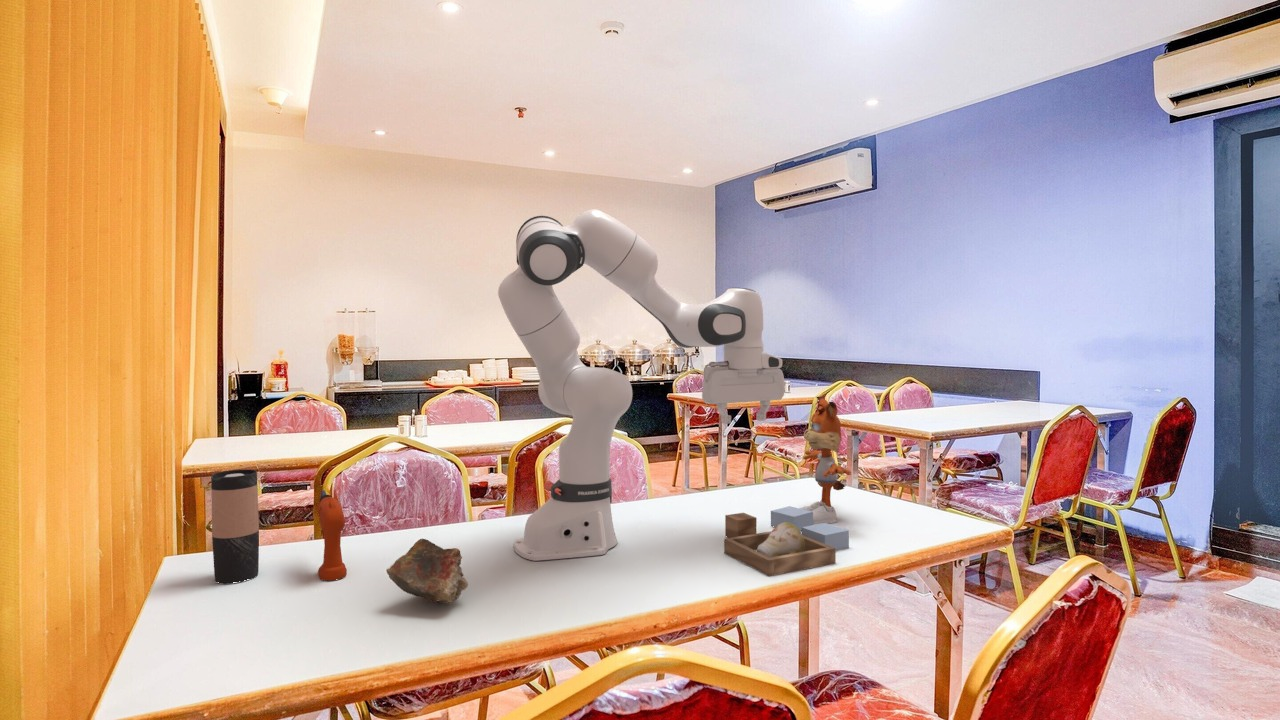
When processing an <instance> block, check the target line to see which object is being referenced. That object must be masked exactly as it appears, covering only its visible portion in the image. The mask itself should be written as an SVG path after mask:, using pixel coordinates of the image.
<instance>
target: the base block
mask: <svg viewBox="0 0 1280 720" xmlns="http://www.w3.org/2000/svg"><path fill="white" fill-rule="evenodd" d="M801 534H802V535H804V536H806V537H809V538H811V539H814V540H816V541H819V542H821V543H824V544H826V545H829V546H831V547H834V548H836V552H837V551H841V550H844V549H845V550H846V549H849V548H850V530H849V529H846V528H842V527H839V526H836V525H834V524H832V523H820V524H813V525H811V526H805V527H802V531H801Z"/></svg>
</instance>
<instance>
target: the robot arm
mask: <svg viewBox="0 0 1280 720" xmlns="http://www.w3.org/2000/svg"><path fill="white" fill-rule="evenodd" d="M515 244H516V245H515V246H516V247H515V248H516V249H515V250H516V251H515V252H516V264H517V265H518V267H517V268H516V269H515V270H514V271H512V272H511V273H509V274H508V275H507V276H505V278H504V279H503V280H502V281H501V283H500V284H499V287H498V290H497V296H498V298H499V300H500V301H499V302H500V303H501V307H502V309H503V311H504V313H505V315H506V317H507V319H508V322H509V323H510V325H511V327H512V329H513V330H514V332H515V333H516V335H517V337H518V338H519V340H520V341H521V343H522V345H523V346H524V348H525V349H526V351H527V353H528V354H529V356H530V358H531V359H532V360H533V363H534V365H535V367H536V370H537V374H538V377H539V382H538V386H537V387H538V389H537V391H538V392H537V394H538V397H539V400H540V401H541V403H542V404H543V405H544V407H546V408H548V409H549V410H551V411H553V412H555V413H558V414H561V415H564V416H565V415H567V416H572V423H571V426H570V429H569V432H568V435H566V437H565V438H564V439H562V440H561V442H560V443H559V448H558V461H559V462H558V465H559V466H558V470H559V471H558V475H559V476H558V478H559V479H558V480H557V481H555V482H552V481H550V480H547V481H545V482H544V483H543V489H544V490H546V491H548V492H550V498H549V499H548V500H547V501H546V502H545V503H543V504H542V505H541V506H540V507H539V508H537V509H536V510H535V511H534V512H533V513H532V514H530V515H529V516H528V518H527V520H526V523H525V527H524V533H523V537H519V538H517V539H515V540H514V542H513V550H514V551H515V552H516V554H518V555H519V556H520V557H522V558H524V559H526V560H530V561H534V562H535V561H549V560H559V559H560V560H561V559H572V558H583V557H594V556H602V555H605V554H606V553H607V552H608V550H609V549H612V548H613V547H615V546H616V545H618V539H617V536H616V531H615V528H614V522H613V516H612V515H613V514H612V508H611V507H612V505H611V504H612V500H613V498H612V497H613V484H612V478H611V477H610V476H611V475H610V473H611V471H610V459H611V458H610V457H611V442H612V438H613V436H614V435H613V434H614V431H615V428H616V425H617V423H618V422H619V419H621V417H622V416H623V415H624V414H625V413H626V412H627V411H628V409H629V408H630V406H631V404H632V401H633V387H632V384H631V382H630V380H629V379H628V377H627V376H626V375H625V374H623V373H621V372H619V371H616V370H613V369H611V368H606V367H595V366H593V367H592V366H587V365H585V364H584V363H583V362H582V360H581V359H580V357H579V353H578V348H579V346H580V343H581V336H580V334H579V332H578V330H577V328H576V327H575V325H574V323H573V322H572V320H571V318H570V317H569V315H568V313H567V311H566V310H565V308H564V307H563V304H562V303H561V301H560V299H559V298H558V297H557V295H556V292H555V291H554V288H553V287H554V285H557V284H560V283H561V282H563V281H565V280H566V279H567V278H569V277H570V276H571V275H572V274H574V272H577V270H580V269H581V268H583V266H584V265H587V266H589V267H590V268H592V269H593V270H594V271H596V273H598V274H599V275H601V276H602V277H603V278H605V279H606V280H607V281H608V282H610V283H612V284H613V285H614V286H615V287H617V288H619V289H620V290H622V291H623V292H625V293H626V294H627V295H628V296H630V297H631V299H633V300H634V301H635V302H636V303H638V304H639V305H640V306H641V307H642V308H644V310H645V311H646V312H648V313H649V314H650V315H652V316H653V317H654V318H655V319H656V320H657V321H659V323H660V324H661V325H662V326H663V328H664V330H665V331H666V332H667V335H668V336H669V338H670V340H671V341H672V342H673V343H674V344H676V345H677V346H679V347H681V348H684V349H690V348H696V347H697V348H699V347H700V348H704V347H705V348H708V347H709V348H710V347H712V348H715V347H720V346H723V361H710V362H709V363H707V364H706V365H705V366H704V368H703V382H702V393H701V398H702V400H703V402H704V403H705V404H708V405H716V409H717V411H718V412H719V414H720V417H721V419H720V420H721V424H724V425H725V424H727V425H728V424H731V423H732V415H729V414H728V413H727V410H726V409H727V408H728V404H735V403H748V402H749V403H750V402H752V403H753V402H759V405H761V407H760V409H759V411H758V412H756V413H755V414H756V415H755V416H756V420H757V421H759V422H761V421H764V422H765V421H766V420H767V413H768V410H769V409H770V406H771V401H778V400H779V401H780V400H782V399H783V397H784V396H785V378H784V373H783V371H782V369H781V368H782V367H783V359H782V358H780V357H777V356H774V355H771V354H769V353H767V352H764V343H763V339H762V335H763V334H762V333H763V331H764V312H763V311H764V310H763V309H764V307H763V302H762V298H761V296H760V294H759V292H757V291H756V290H754V289H750V288H746V287H730V288H727V289H726V291H725V292H724V293H722V294H721V295H719V296H718V297H716V298H715V299H712V300H708V302H704V303H694V304H691V303H686V302H682V301H680V300H678V298H676V297H675V296H673V295H672V294H671V293H670V292H669V291H668V290H667V289H665V288H664V286H662V285H661V284H660V283H659V282H658V281H657V279H656V277H655V276H656V274H657V270H658V266H659V265H658V263H659V261H658V255H657V252H655V250H654V248H653V247H652V246H651V245H650V244H649V243H648V242H647V241H646V240H645V239H644V238H643V237H641V236H640V235H639V234H638V233H636V232H635V231H634V230H633V229H632V228H630V227H629V226H627V225H626V224H625V223H624V222H621V221H620V220H618V219H617V218H616V217H613V216H611V215H610V214H607V213H606V212H604V211H602V210H599V209H594V208H593V209H588V210H585V211H583V212H582V213H580V214H579V215H578V216H577V217H576V218H575V219H574V221H572V223H570V224H569V225H563V224H561V222H559V220H557V219H555V218H553V217H552V216H551V217H550V216H547V215H537V216H536V215H535V216H533V217H530V218H529V219H527V220H525V222H524V223H522V224H521V226H520V228H519V230H518V231H517V234H516V241H515Z"/></svg>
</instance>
